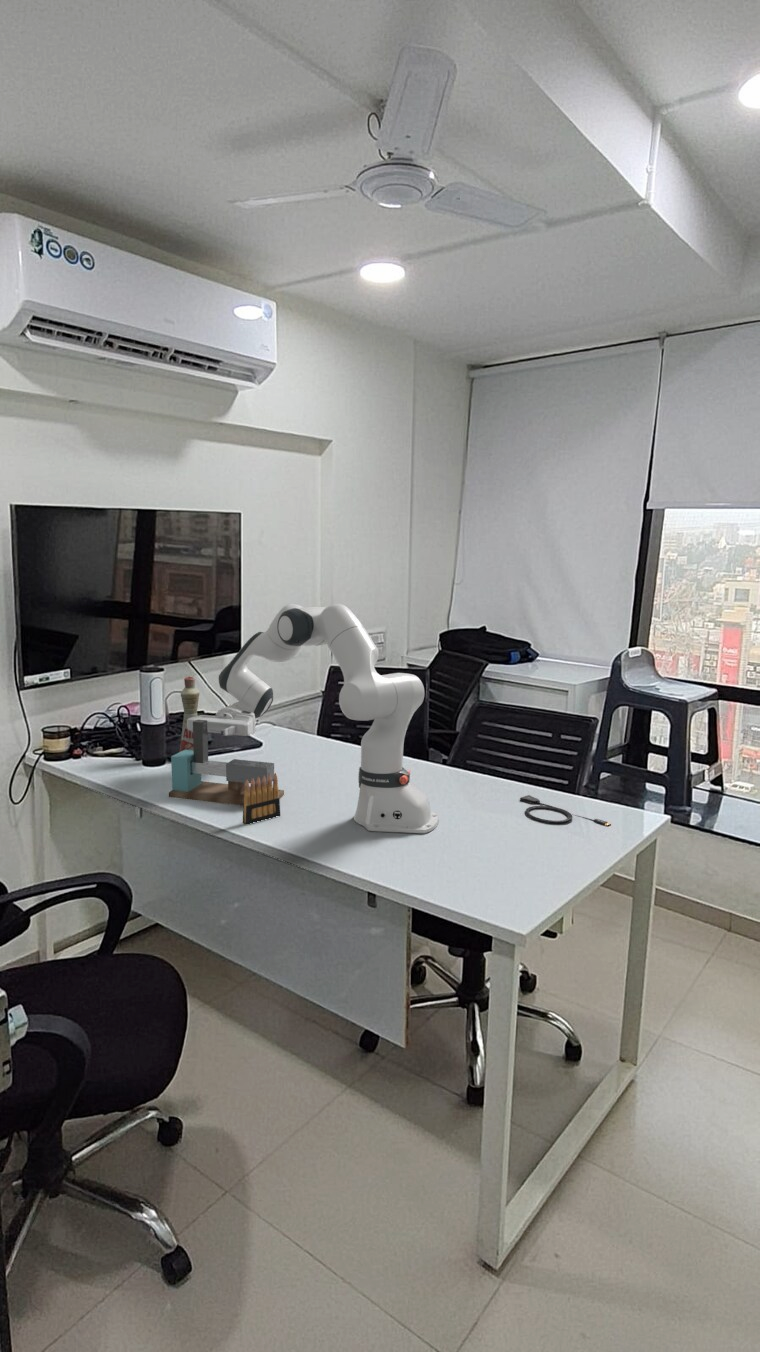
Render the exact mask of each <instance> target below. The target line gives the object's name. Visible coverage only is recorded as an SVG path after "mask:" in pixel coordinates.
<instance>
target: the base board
mask: <svg viewBox="0 0 760 1352" xmlns="http://www.w3.org/2000/svg"><path fill="white" fill-rule="evenodd" d="M250 786H251V785H249V790H250ZM266 787H267V785H266ZM261 789H262V785H261ZM278 791H279V798H280V799H281V798H282V797H284V796H285V790H284V789H278ZM255 792H256V784H255ZM244 793H245V783H242V782H233V781H227V783H221V782H212V781H211V782H209V781H205V780H204V781H203V780H201V784H200V785H198V786H197V787H195V788H193V789H192V790H190V791H188V792H185V791H176V790H172V789H171V790H170V791H168V798H173V799H180V800H181V799H182V800H189V801H190V800H191V801H198V802H205V803H216V804H222V805H223V804H225V805H233V806H242V807H243V804H244ZM283 795H284V796H283Z"/></svg>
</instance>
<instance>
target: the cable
mask: <svg viewBox="0 0 760 1352" xmlns="http://www.w3.org/2000/svg"><path fill="white" fill-rule="evenodd" d="M519 801H520V802H523V803H526V804H529V805H532V806H529V807H527V808H526V809H525V810H524V815H525V816H526V817H527V818H530V819H531V820H534V821H537V822H540V823H545V824H553V825H562V824H563V825H564V824H568V823H570V822H571V821H572V819H573V816H575V817H578V818H582V819H586V820H588V821H592V822H593V823H595V824H596V825H597V824H598V825H601V826H605V827H610V826H611V825H612V823H609V822H608V821H607V820H603V819H599V818H594V819H593V818H587V817H584V816H581V815H577V814H576V815H575V814H573V813H571V812H569V811H568V810H566V809H563V808H559V807H556V806H552V805H549V804H546V803H542V802H541V800H540V799H539V798H536V797H534V796H532V795H530V794H528V795H525V796H521V797H519ZM535 810H545V811H552V812H557V813H560V814H562V815H564V816H566V819H562V820H551V819H544V818H540V817H537V816H535V815H533V814H531V813H530V812H531V811H535Z"/></svg>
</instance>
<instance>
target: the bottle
mask: <svg viewBox="0 0 760 1352" xmlns="http://www.w3.org/2000/svg"><path fill="white" fill-rule="evenodd" d="M183 680H184V688H183V689H182V690H181V691H180V698H181V702H182V707H183V720H182V726H181V727H182V729H181V730H182V731H181V738H180V746H179V752H181V751H183V750H185V749H186V750H193V732H192V731H190V730H188V729H187V719H188V718H191V717H194V716H197V715H199V714H198V706H199V699H200V698H199V697H200V691H199V689H197V687H195V686H196V678H195V677H193V676H191V675H189V676H186V677H184V679H183Z"/></svg>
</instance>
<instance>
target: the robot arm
mask: <svg viewBox="0 0 760 1352" xmlns="http://www.w3.org/2000/svg"><path fill="white" fill-rule="evenodd" d="M324 645H327V647H328V648H329V650H330V652H331V654H332V655H333V657H334V659H335V661H336V663H338V666H339V668H340V671H341V672H342V676H343V681H344V682H343V685H342V687H341V689H340V692H339V695H338V704H339V707H340V710H341V711H342V714H344V716H345V717H346V718H347V719H348V720H352V721H367V722H368V721H373V722H372V724H371V726H370V728H369V729H368V730H367V731H366V732H365V733H364V735H363V736H362V738H361V742H360V766H359V768H358V787H359V793H358V801H357V806H356V810H355V813H354V817H353V818H354V821H355V822H356V823H357V824H359V825H361V826H363V827H364V828H365V829H366V831H367V830H368V831H369V832H386V833H387V832H389V833H405V834H407V833H408V834H409V833H410V834H427V833H430V832H431V831H433V830H434V829H435V828H436V827H437V826H438V825H439V820H440V819H439V815H438V814H437V813H436V812H434V811H431V804H430V801H429V797H428V796H427V794H425V793H424V792H422V791H421V790H420V789H418V788H417V787H416V786H415V785H413V783H411V782H410V781H411V779H410V777H411V776H410V775H411V769H409V770H407V769H405V768H404V767H403V761H404V760H403V757H404V743H405V738H406V735H407V734H406V733H407V730H408V728H409V725H410V722H411V720H412V718H413V716H414V714H415V712H417V710H418V709H419V707H420V706H421V705H422V704H423V702H424V700H425V699H424V698H425V687H424V684H423V682H422V680H421V679H420V678H419V677H418V676H417V675H415V674H412V673H407V672H406V673H405V672H393V673H388V674H382V675H381V674H380V673H378V672H377V670H376V668H375V666H376V664H377V662H378V659H379V656H380V654H379V649H378V647H377V645H376V644H375V641H373V639H372V638H371V635H370V634H369V633H368V631H367V630H366V628H365V626H364V624H362V622H361V621H360V620H359V618H358V617H357V616H356V615H355V614H354V613H353V611H352V610H351V609H350V608H349V607H347V606H346V605H345V604H343V603H333V604H331V605H328V606H314V605H313V606H305V607H304V606H302V605H300V604H296V603H289V604H288V603H287V604H286V605H284V606H283V607H281V608H280V610H279V611H278V612H277V613H276V615H275V617H274V618H273V620H272V621H271V623H270V624H269V627H268V628H267V630H266V631H258V632H256V633H255V634H253V635H252V636H251V637H250V638H249V639H248V640H247V641H245V643H244V644H243V646H242V647H241V648H240V649H239V651H238V652H237V653H236V654H235V656H234V657H233V658H232V659H231V661H230V662H229V663H228V664H227V665H226V666H225V667H224V668H223V669H222V670H221V671H220V672H219V674H218V684H219V687H220V689H222V690H223V691H225V692H226V693H227V694H229V695H231V696H232V697H233V698H235V699H236V700H237V701H236V702H234V703H232V704H229V705H227V706H225V707H222V708H221V709H219V710H218V711H217V712H216V714H215V715H212V714H211V715H209V714H198V715H197V716H194V717H191V718H188V719H187V729H188V730H190V731H192V732H193V721H196V720H207V730H208V733H210V734H212V733H213V734H220V735H221V736H228V737H229V736H244V737H245V736H250V735H253V734H254V733H256V722H257V721H258V719H259V718H261V717H263V716H264V715H265V714H266V712H267V711H268V710H269V708H271V706H272V704H273V702H274V690H273V687H271V686H269V684H267V683H266V682H265V681H263V680H262V679H261V678H259V676H257V675H256V674H255V673H253V672H252V671H251V670H250V669H249V668H248V667H247V664H249V662H250V660H252V658H253V657H254V656H255V657H256V656H257V657H260V658H262V659H265V660H268V661H270V662H275V663H284V662H287V661H290V660H291V659H293V658H295V656H296V655H297V654H298V652H299V650H300V649H301V647H303V646H305V647H307V646H308V647H309V646H316V647H318V646H324Z"/></svg>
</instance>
